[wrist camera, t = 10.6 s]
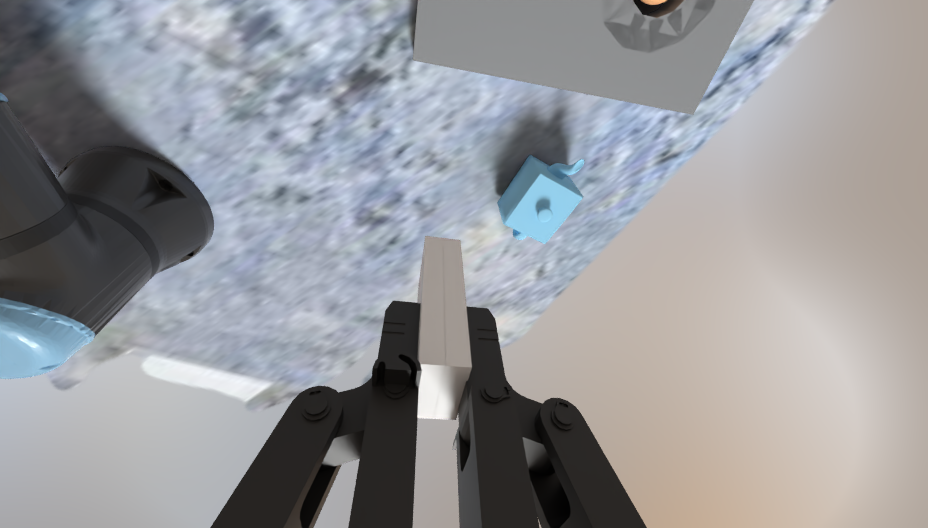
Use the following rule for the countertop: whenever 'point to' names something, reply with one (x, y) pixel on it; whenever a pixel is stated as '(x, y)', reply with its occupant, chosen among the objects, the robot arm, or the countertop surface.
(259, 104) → the countertop surface
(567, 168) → the light blue teapot
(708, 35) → the plate
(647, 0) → the ball
